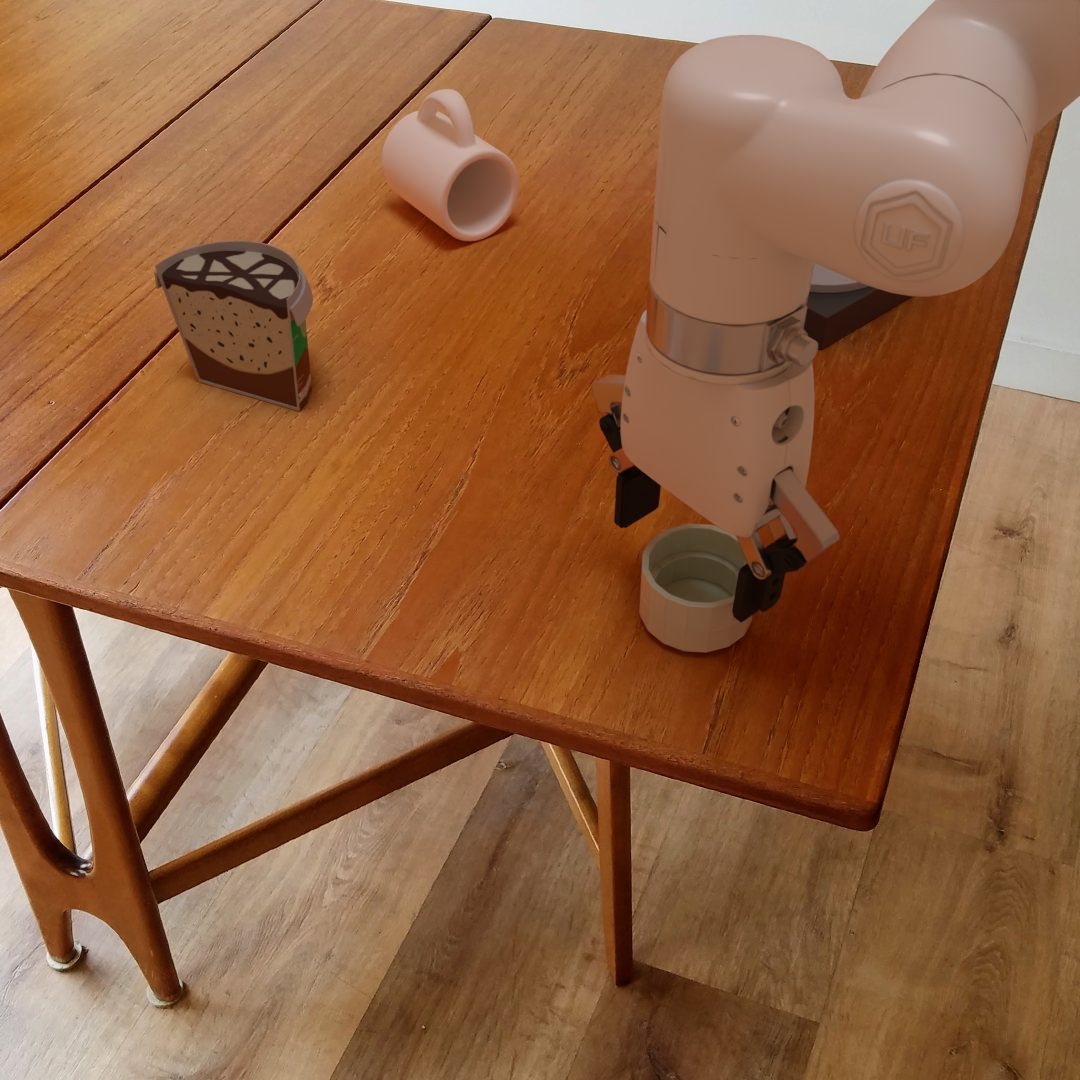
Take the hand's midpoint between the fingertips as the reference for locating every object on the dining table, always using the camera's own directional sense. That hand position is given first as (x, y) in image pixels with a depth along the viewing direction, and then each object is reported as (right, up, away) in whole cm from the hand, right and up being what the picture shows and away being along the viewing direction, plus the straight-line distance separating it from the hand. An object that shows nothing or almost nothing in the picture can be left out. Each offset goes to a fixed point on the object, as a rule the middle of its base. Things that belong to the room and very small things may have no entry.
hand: (693, 560), depth 68 cm
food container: (-30, +14, +22) cm, 39 cm away
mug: (-17, +31, +38) cm, 52 cm away
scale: (+14, +23, +29) cm, 40 cm away
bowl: (0, -3, +3) cm, 5 cm away
